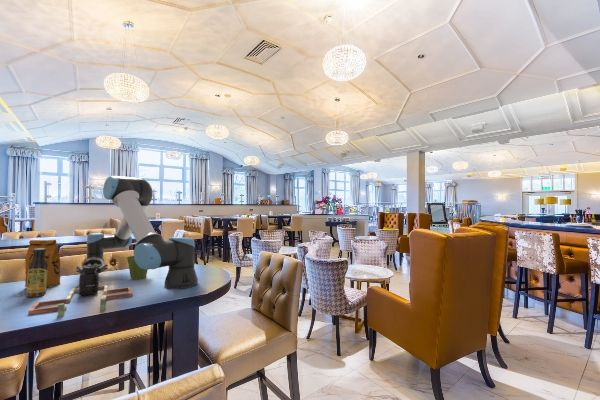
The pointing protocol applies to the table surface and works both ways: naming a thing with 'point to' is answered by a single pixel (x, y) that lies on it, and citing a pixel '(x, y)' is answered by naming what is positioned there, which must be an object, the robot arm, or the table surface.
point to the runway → (60, 303)
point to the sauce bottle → (37, 274)
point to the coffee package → (50, 257)
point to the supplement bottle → (88, 281)
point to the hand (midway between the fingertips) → (89, 274)
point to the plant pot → (135, 269)
